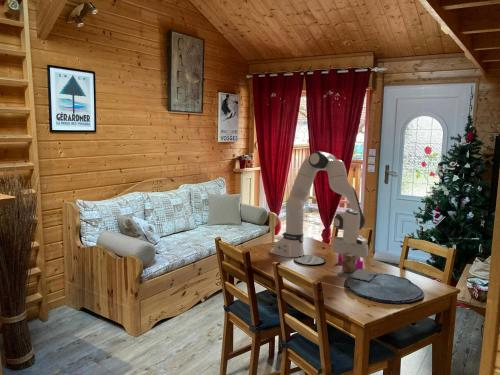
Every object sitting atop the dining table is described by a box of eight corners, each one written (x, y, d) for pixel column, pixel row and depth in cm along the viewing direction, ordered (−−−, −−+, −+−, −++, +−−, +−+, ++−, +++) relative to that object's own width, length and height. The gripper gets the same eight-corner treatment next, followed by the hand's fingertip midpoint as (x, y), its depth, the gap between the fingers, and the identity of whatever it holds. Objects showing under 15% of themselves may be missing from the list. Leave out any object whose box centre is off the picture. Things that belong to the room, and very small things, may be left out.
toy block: (362, 268, 243) (363, 256, 242) (354, 269, 240) (355, 257, 239) (345, 261, 256) (346, 249, 255) (337, 262, 253) (338, 250, 252)
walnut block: (341, 270, 231) (342, 253, 230) (347, 266, 238) (348, 249, 237) (350, 272, 228) (351, 255, 227) (356, 268, 236) (357, 251, 234)
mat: (337, 275, 229) (337, 273, 229) (347, 268, 242) (347, 266, 242) (369, 282, 219) (369, 280, 219) (377, 274, 232) (377, 272, 232)
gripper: (331, 236, 234) (330, 260, 236) (366, 242, 223) (365, 267, 225) (335, 234, 239) (334, 257, 241) (370, 240, 228) (368, 264, 230)
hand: (349, 262), depth 233 cm, fingers closed on walnut block, 5 cm apart
